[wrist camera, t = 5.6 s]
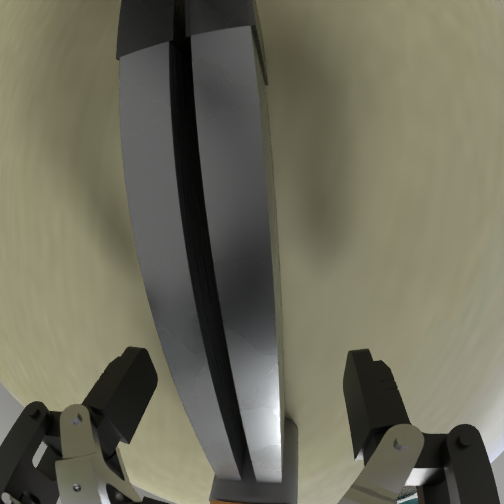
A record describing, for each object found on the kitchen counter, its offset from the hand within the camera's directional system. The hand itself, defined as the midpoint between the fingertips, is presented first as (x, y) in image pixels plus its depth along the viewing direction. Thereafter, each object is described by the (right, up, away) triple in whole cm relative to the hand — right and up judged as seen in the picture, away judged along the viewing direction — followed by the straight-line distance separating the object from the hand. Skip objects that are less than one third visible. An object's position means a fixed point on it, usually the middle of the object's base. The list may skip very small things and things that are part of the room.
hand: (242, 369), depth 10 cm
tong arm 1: (+1, +4, +1) cm, 4 cm away
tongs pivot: (+1, -8, +6) cm, 10 cm away
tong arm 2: (-1, +4, +1) cm, 4 cm away
